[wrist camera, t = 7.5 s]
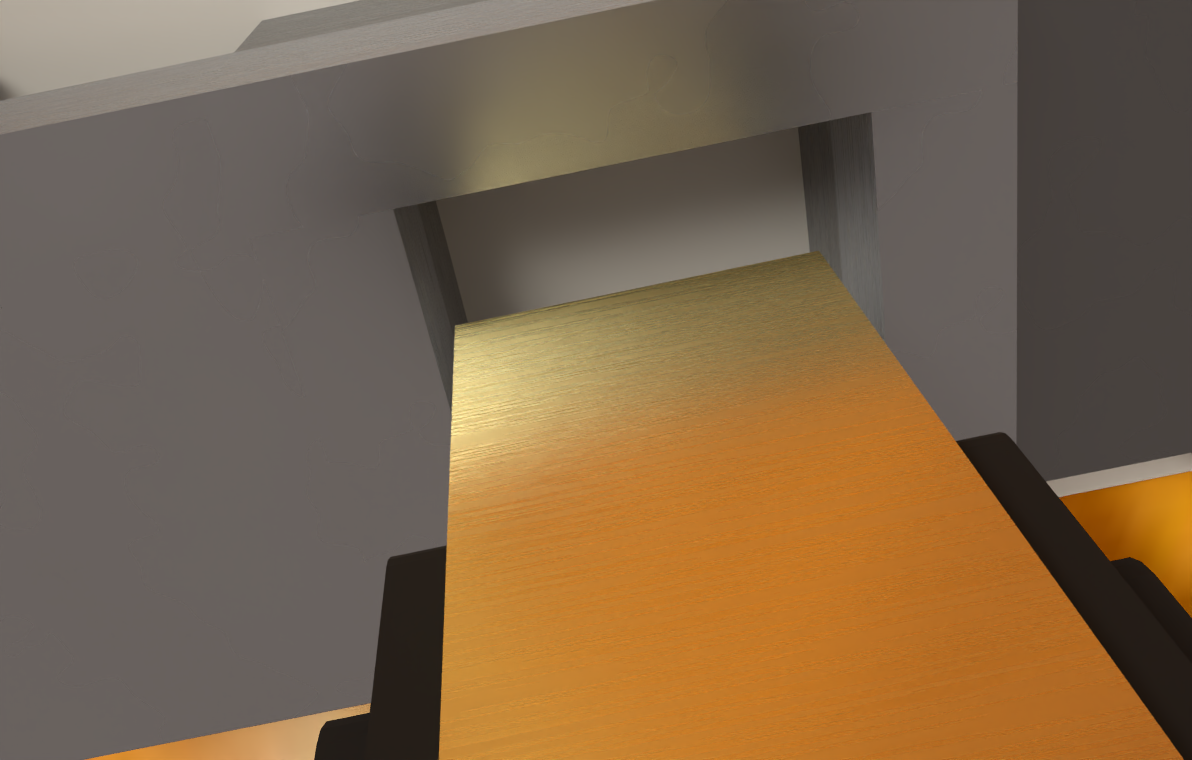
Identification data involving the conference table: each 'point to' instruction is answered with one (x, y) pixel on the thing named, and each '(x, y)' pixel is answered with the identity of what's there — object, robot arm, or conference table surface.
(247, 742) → the conference table surface
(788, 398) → the pin
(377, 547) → the gray toy truck
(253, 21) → the board
